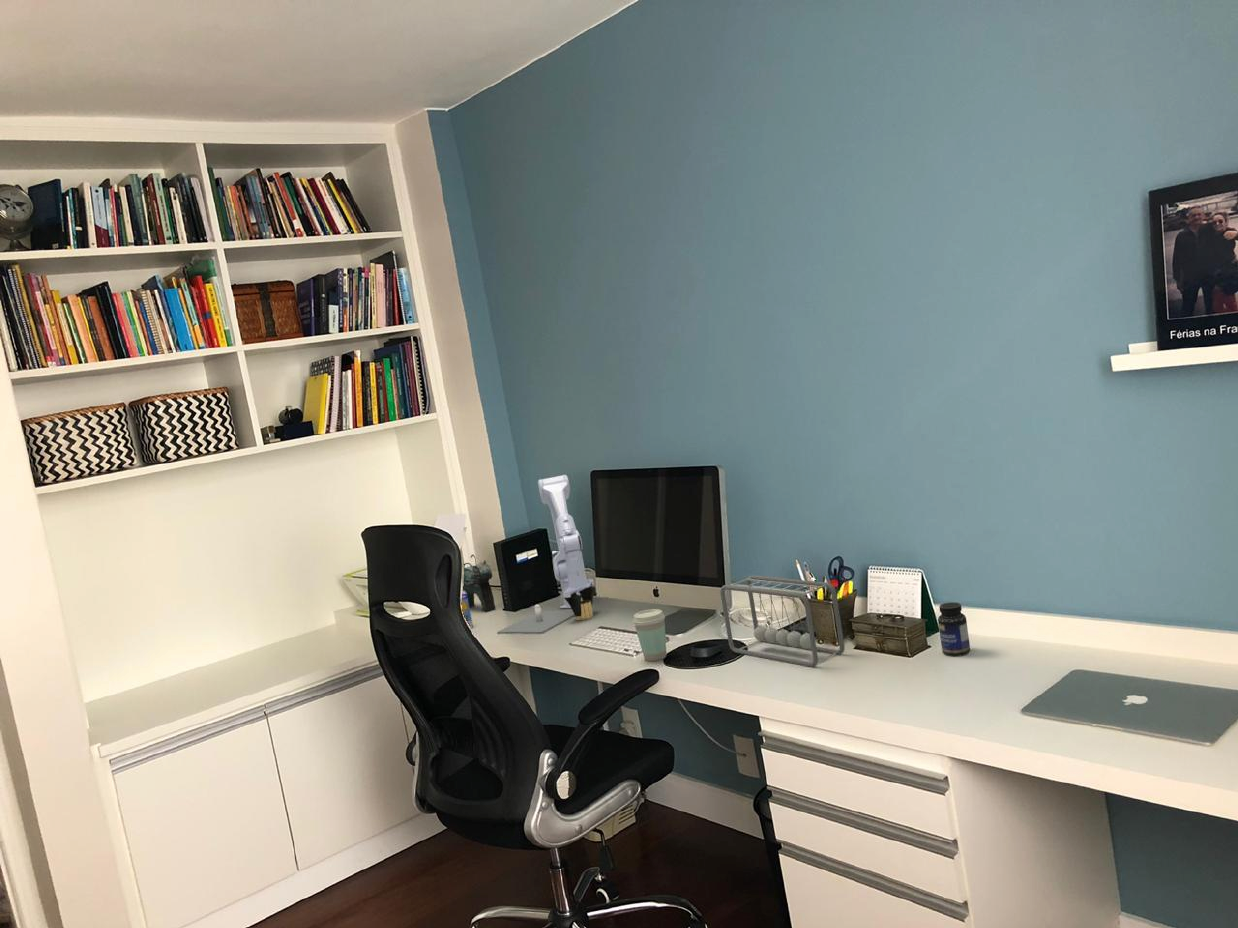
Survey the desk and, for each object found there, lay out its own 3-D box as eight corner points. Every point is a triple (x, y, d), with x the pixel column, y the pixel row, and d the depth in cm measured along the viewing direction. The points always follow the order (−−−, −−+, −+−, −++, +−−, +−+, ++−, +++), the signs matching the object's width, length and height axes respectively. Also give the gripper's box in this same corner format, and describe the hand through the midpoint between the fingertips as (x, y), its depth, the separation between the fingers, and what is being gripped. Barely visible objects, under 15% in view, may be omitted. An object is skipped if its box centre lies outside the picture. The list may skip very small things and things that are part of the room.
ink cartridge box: (444, 635, 325) (436, 592, 324) (442, 631, 331) (434, 589, 329) (474, 628, 328) (466, 585, 327) (471, 624, 333) (463, 582, 332)
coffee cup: (676, 651, 263) (668, 607, 262) (664, 662, 255) (656, 617, 254) (647, 652, 266) (639, 609, 265) (634, 663, 259) (626, 618, 258)
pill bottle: (937, 654, 225) (930, 607, 224) (951, 646, 229) (945, 600, 228) (961, 658, 220) (954, 610, 219) (976, 649, 224) (969, 602, 223)
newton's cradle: (846, 655, 236) (835, 582, 235) (817, 669, 230) (805, 594, 228) (758, 639, 261) (747, 574, 259) (729, 652, 254) (717, 585, 253)
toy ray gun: (500, 609, 349) (490, 553, 347) (484, 614, 346) (473, 558, 344) (474, 603, 365) (463, 551, 363) (458, 608, 362) (448, 555, 360)
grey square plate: (538, 612, 334) (534, 595, 333) (581, 611, 324) (578, 594, 323) (497, 633, 315) (493, 615, 315) (542, 633, 306) (538, 614, 305)
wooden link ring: (582, 614, 320) (579, 599, 320) (596, 614, 317) (593, 599, 317) (572, 620, 315) (569, 604, 315) (586, 620, 312) (584, 604, 312)
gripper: (573, 577, 307) (581, 619, 308) (598, 565, 319) (606, 606, 320) (555, 578, 310) (562, 620, 312) (580, 566, 322) (588, 606, 324)
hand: (583, 613), depth 316 cm, fingers closed on wooden link ring, 6 cm apart
